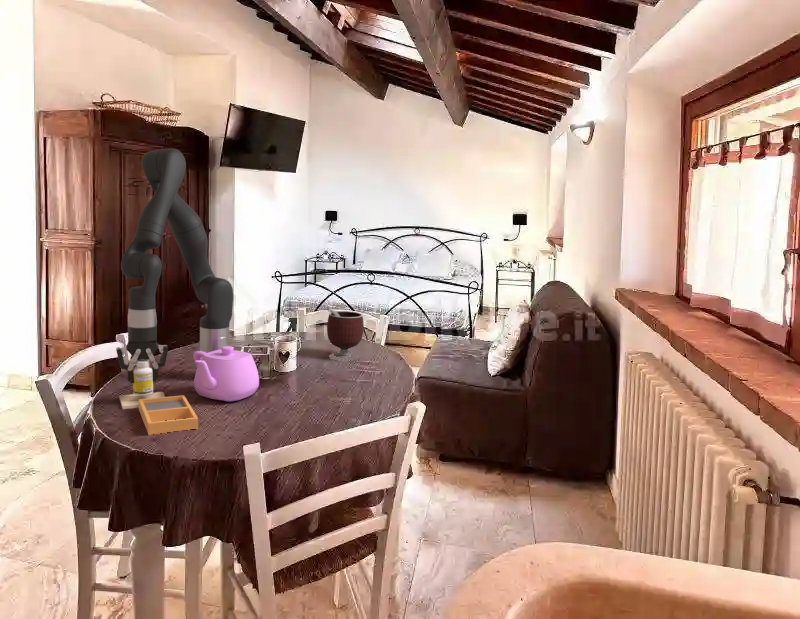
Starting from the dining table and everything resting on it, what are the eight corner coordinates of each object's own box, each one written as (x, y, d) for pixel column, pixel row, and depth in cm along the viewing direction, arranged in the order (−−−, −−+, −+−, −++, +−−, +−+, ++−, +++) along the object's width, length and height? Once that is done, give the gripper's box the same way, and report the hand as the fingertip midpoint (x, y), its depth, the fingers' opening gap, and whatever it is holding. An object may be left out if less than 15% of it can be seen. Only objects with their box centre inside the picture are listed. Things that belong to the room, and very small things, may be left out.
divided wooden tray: (184, 405, 182) (184, 395, 181) (198, 429, 164) (198, 418, 164) (138, 409, 176) (138, 399, 175) (148, 435, 159) (148, 423, 158)
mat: (162, 394, 190) (162, 391, 190) (168, 404, 181) (168, 401, 181) (119, 398, 184) (119, 395, 184) (122, 409, 176) (122, 406, 176)
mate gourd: (347, 351, 255) (349, 302, 251) (369, 359, 245) (371, 308, 241) (315, 356, 244) (317, 305, 241) (336, 364, 234) (339, 311, 231)
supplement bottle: (136, 390, 185) (136, 357, 183) (155, 390, 185) (155, 358, 184) (130, 395, 180) (129, 362, 178) (149, 396, 180) (149, 363, 178)
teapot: (211, 382, 205) (211, 336, 202) (266, 392, 197) (267, 345, 195) (160, 401, 184) (159, 350, 181) (220, 414, 176) (220, 361, 174)
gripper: (167, 320, 186) (167, 376, 189) (113, 322, 179) (114, 380, 182) (171, 325, 179) (171, 383, 182) (115, 327, 172) (116, 387, 175)
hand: (142, 381), depth 182 cm, fingers closed on supplement bottle, 5 cm apart
